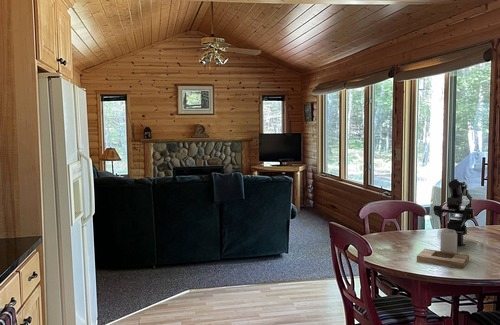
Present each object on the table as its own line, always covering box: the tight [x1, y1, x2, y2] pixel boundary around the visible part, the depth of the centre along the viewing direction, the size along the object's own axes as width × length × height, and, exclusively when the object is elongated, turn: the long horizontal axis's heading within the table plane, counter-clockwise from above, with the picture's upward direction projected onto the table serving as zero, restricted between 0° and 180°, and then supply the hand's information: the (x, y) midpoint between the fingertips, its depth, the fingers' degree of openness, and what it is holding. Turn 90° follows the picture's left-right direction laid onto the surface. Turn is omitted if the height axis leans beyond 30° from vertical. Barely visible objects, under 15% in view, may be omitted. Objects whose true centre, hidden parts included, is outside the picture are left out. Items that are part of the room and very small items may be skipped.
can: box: [439, 228, 458, 253], centre depth 210 cm, size 8×8×12 cm
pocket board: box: [416, 248, 470, 269], centre depth 199 cm, size 14×20×2 cm
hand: (450, 225), depth 213 cm, fingers open, 9 cm apart
